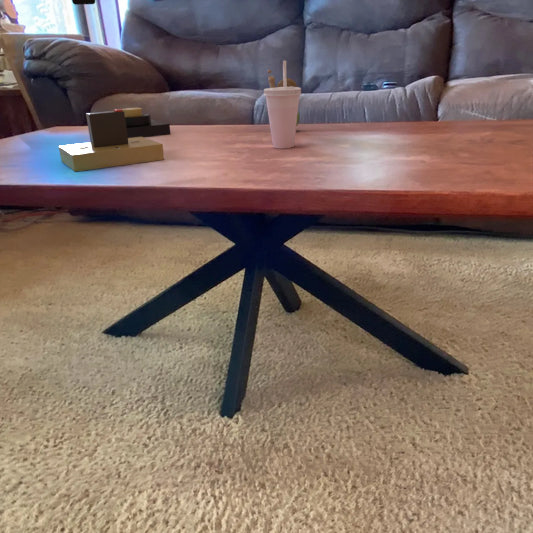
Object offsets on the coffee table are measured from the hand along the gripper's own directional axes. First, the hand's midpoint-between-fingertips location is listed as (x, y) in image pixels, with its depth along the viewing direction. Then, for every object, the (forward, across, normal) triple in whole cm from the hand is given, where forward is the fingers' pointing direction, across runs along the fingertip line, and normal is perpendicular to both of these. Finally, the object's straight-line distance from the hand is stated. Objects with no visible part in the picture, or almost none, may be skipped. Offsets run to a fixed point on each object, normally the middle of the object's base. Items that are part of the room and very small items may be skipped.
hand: (87, 0), depth 70 cm
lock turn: (+20, -4, 0) cm, 21 cm away
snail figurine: (+23, -17, +37) cm, 47 cm away
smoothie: (+23, 0, +29) cm, 37 cm away
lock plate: (+23, -4, 0) cm, 23 cm away
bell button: (+19, -30, +8) cm, 37 cm away
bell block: (+23, -30, +8) cm, 39 cm away
